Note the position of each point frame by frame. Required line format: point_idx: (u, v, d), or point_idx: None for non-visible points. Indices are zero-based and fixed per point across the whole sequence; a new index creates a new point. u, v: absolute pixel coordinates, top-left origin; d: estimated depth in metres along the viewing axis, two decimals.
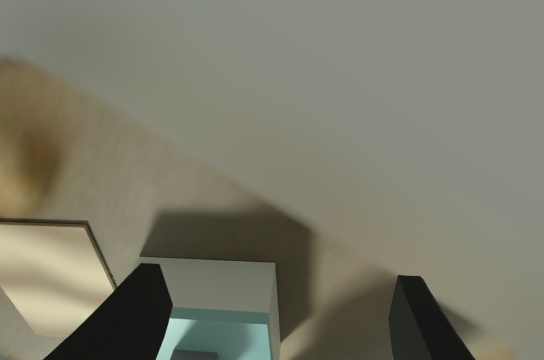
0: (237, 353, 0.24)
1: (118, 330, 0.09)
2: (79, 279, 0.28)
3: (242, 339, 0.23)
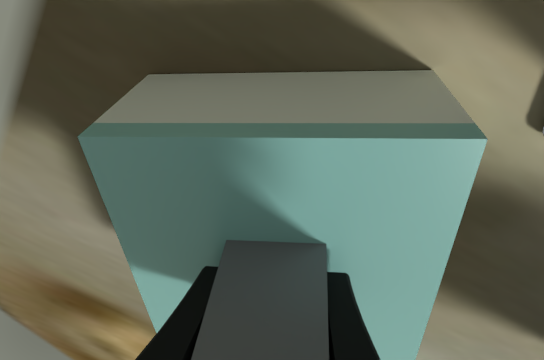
0: (217, 205, 0.10)
1: None
2: None
3: (157, 189, 0.10)
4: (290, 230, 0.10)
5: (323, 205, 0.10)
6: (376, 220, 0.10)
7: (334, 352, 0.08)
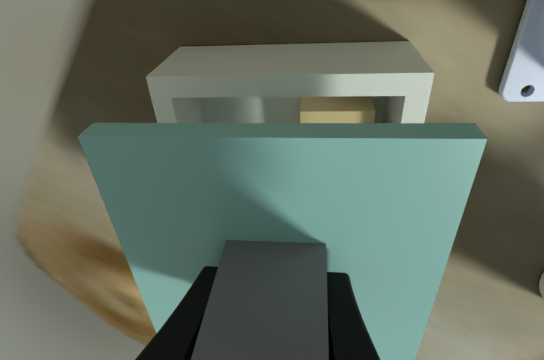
0: (217, 205, 0.10)
1: None
2: None
3: (157, 189, 0.10)
4: (290, 230, 0.10)
5: (323, 205, 0.10)
6: (376, 220, 0.10)
7: (334, 352, 0.08)
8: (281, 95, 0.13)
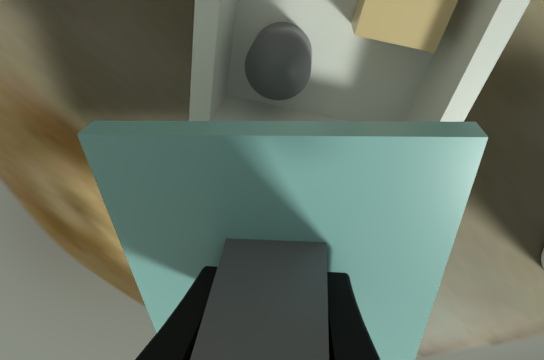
0: (217, 203, 0.10)
1: None
2: None
3: (157, 187, 0.10)
4: (290, 229, 0.10)
5: (323, 203, 0.10)
6: (376, 219, 0.10)
7: (334, 352, 0.08)
8: None
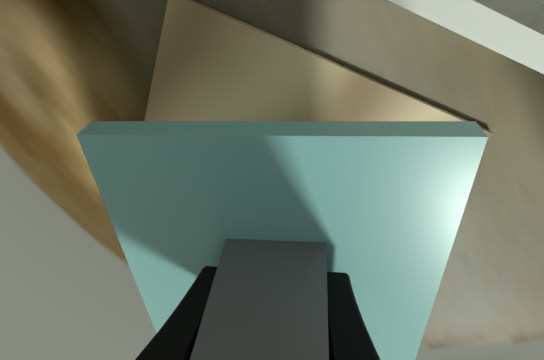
0: (217, 203, 0.10)
1: None
2: (283, 106, 0.15)
3: (156, 187, 0.10)
4: (290, 229, 0.10)
5: (323, 203, 0.10)
6: (376, 218, 0.10)
7: (334, 352, 0.08)
8: None
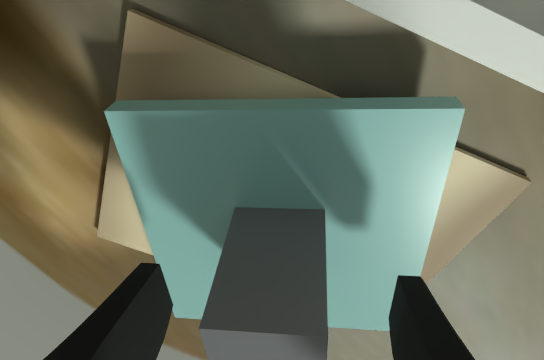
0: (227, 174, 0.11)
1: (118, 330, 0.09)
2: None
3: (173, 160, 0.11)
4: (293, 197, 0.12)
5: (322, 172, 0.11)
6: (369, 186, 0.11)
7: (431, 359, 0.08)
8: None
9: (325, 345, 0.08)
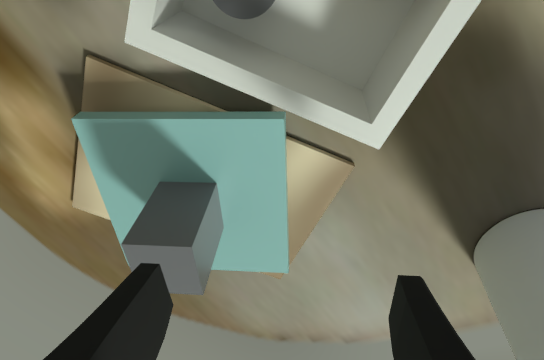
0: (151, 159, 0.18)
1: (118, 330, 0.09)
2: None
3: (116, 150, 0.18)
4: (195, 174, 0.18)
5: (210, 158, 0.17)
6: (240, 167, 0.18)
7: (431, 359, 0.08)
8: None
9: (192, 253, 0.15)
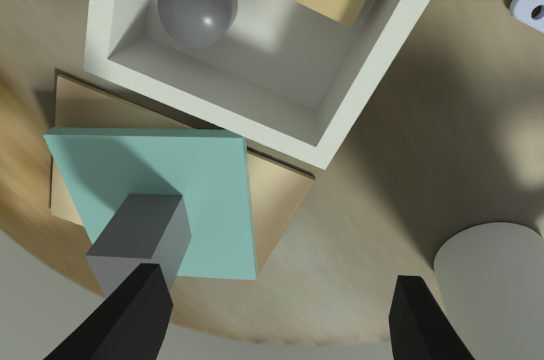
0: (120, 172, 0.19)
1: (118, 330, 0.09)
2: None
3: (87, 163, 0.19)
4: (162, 187, 0.19)
5: (175, 172, 0.18)
6: (204, 181, 0.18)
7: (431, 359, 0.08)
8: None
9: None
